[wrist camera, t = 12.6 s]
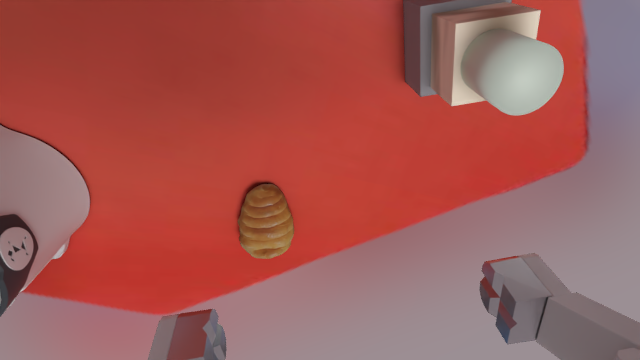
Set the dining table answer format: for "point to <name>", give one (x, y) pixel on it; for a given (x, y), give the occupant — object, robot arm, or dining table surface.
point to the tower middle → (459, 32)
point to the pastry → (265, 222)
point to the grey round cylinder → (512, 70)
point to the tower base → (426, 37)
